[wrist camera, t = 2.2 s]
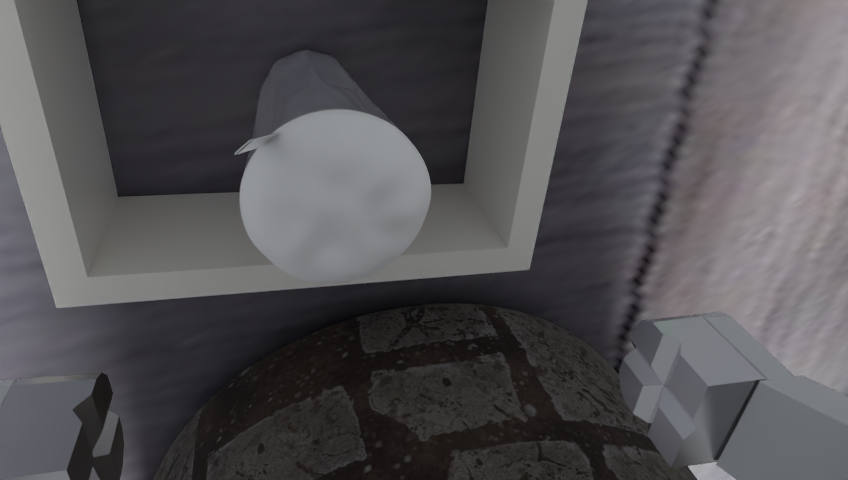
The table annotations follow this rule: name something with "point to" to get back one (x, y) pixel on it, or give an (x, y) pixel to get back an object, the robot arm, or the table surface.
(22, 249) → the table surface
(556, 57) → the frame
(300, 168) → the milkshake
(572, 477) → the planter
